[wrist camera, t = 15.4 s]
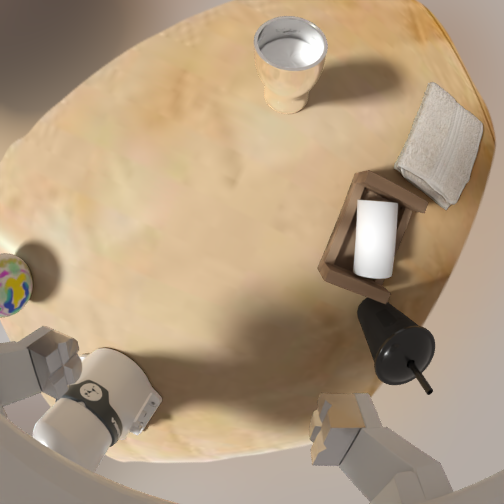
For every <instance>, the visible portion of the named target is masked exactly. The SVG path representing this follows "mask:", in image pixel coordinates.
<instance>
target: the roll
mask: <svg viewBox="0 0 504 504" xmlns="http://www.w3.org/2000/svg"><path fill="white" fill-rule="evenodd" d="M397 214H398V203H394V202H386V201H374V200H357V224H356V241H355V254H354V266H353V272H354V273H355V274H357V275H359V276H363V277H367V278H376V279H383V278H389V277H391V276H392V271H393V263H394V253H395V243H396V230H397Z"/></svg>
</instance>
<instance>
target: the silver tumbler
mask: <svg viewBox="0 0 504 504" xmlns="http://www.w3.org/2000/svg"><path fill="white" fill-rule="evenodd" d="M327 49H328V44H327V39H326V37H325V35H324V33H323V32H322V31H321V30H320V28H319V27H317V26H316V25H315V24H313V23H312V22H310V21H308V20H305V19H303V18H299V17H293V16H282V17H277V18H273V19H271V20H269V21H267V22H265V23H264V24H262V25H261V26H260V27H259V29H258V30H257V32H256V34H255V37H254V59H255V66H256V70H257V73H258V75H259V77H260V79H261V81H262V83H263V84H264V86H265V88H264V99H265V101H266V103H267V105H268V106H269V107H270V108H271V109H273V110H274V111H276V112H279V113H282V114H292V113H296V112H298V111H300V110H301V109H302V108H303V107H304V106H305V105H306V103H307V101H308V91H309V90H310V89H311V88H312V87H313V86H314V85H315V84H316V82H317V81H318V79H319V77H320V75H321V73H322V71H323V67H324V64H325V59H326V53H327Z"/></svg>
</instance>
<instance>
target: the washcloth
mask: <svg viewBox="0 0 504 504" xmlns="http://www.w3.org/2000/svg"><path fill="white" fill-rule="evenodd" d="M414 120H415V121H414V123H413V125H412V129H411V131H410V133H409V135H408V139H407V141H406V142H405V146H404V147H403V149H402V151H401V153H400V155H399V156H398V159H397V161H396V162H395V165H394V169H396V170H397V171H399V172H400V173H401V174H402V175H403V177H404V178H405V179H406V180H407V181H409V182H410V183H411V184H413V185H414V186H415V187H417V188H418V189H420V190H421V191H423V192H424V193H425V194H426V195H428V196H429V197H430V198H431V199H432V200H434V201H435V202H436V203H437V204H438V205H440V206H441V207H442V208H443V209H445V210H447V209H448V207H449V206H450V205H451V204H455V203H456V202H457V201H458V199H459V197H460V194H461V192H462V190H463V188H464V187H465V185H466V183H467V182H468V181H469V179H470V174H471V171H472V167H473V164H474V161H475V159H476V156H477V152H478V147H479V143H480V140H481V137H482V133H483V124H482V123H481V121H479V120H478V119H477V118H476V117H475V116H474V115H473V114H472V113H470V112H469V111H468V110H465V109H464V108H463V107H462V106H461V105H460V104H458V103H457V102H456V101H455V99H454V98H453V97H452V96H451V95H450V94H449V93H448V92H446V91H445V90H444V89H442V88H441V87H440V86H439V85H437V84H436V83H434V82H430V83H428V86H427V90H426V91H425V95H424V97H423V100H422V103H421V105H420V108H419V111H418V112H417V116H416V117H415V119H414Z"/></svg>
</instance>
